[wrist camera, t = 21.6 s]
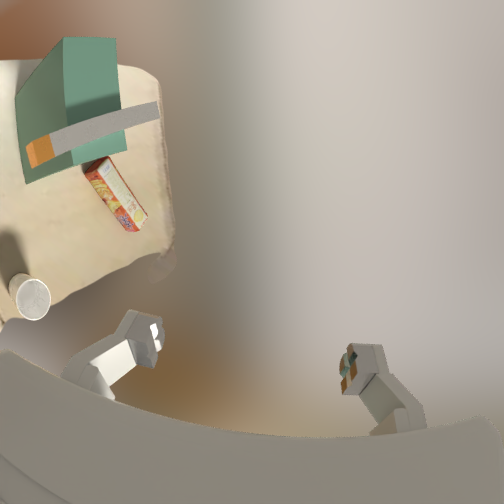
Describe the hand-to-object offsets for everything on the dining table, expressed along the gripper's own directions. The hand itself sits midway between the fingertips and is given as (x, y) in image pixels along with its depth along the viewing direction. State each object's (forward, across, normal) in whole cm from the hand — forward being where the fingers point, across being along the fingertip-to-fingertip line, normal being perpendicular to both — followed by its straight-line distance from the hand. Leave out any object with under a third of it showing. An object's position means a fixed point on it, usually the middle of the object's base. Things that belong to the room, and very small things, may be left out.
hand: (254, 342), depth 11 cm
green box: (+35, +50, -4) cm, 62 cm away
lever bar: (+26, +26, -5) cm, 37 cm away
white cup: (+19, +49, +25) cm, 58 cm away
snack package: (+50, +40, +16) cm, 66 cm away
